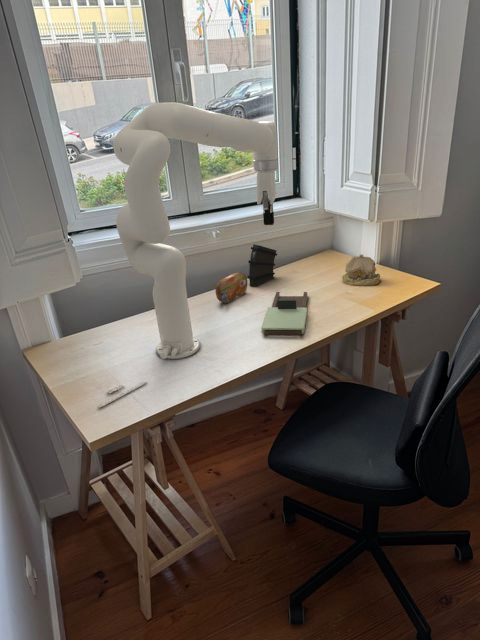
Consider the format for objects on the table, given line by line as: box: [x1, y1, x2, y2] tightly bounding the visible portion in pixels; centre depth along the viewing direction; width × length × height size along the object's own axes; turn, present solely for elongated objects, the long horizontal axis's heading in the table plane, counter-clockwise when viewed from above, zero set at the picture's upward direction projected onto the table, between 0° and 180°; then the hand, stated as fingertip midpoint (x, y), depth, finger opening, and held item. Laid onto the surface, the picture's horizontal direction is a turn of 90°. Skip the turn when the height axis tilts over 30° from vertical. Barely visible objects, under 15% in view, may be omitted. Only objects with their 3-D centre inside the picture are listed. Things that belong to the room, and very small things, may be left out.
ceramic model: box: [343, 254, 381, 286], centre depth 185 cm, size 14×11×10 cm
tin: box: [215, 272, 248, 304], centre depth 178 cm, size 15×3×8 cm, turn 143°
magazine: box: [247, 243, 278, 287], centre depth 190 cm, size 4×13×15 cm, turn 137°
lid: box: [260, 299, 308, 335], centre depth 156 cm, size 15×13×5 cm
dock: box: [264, 291, 308, 337], centre depth 164 cm, size 30×11×2 cm, turn 172°
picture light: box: [98, 382, 145, 408], centre depth 129 cm, size 14×4×2 cm, turn 138°
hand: (269, 224), depth 163 cm, fingers closed
